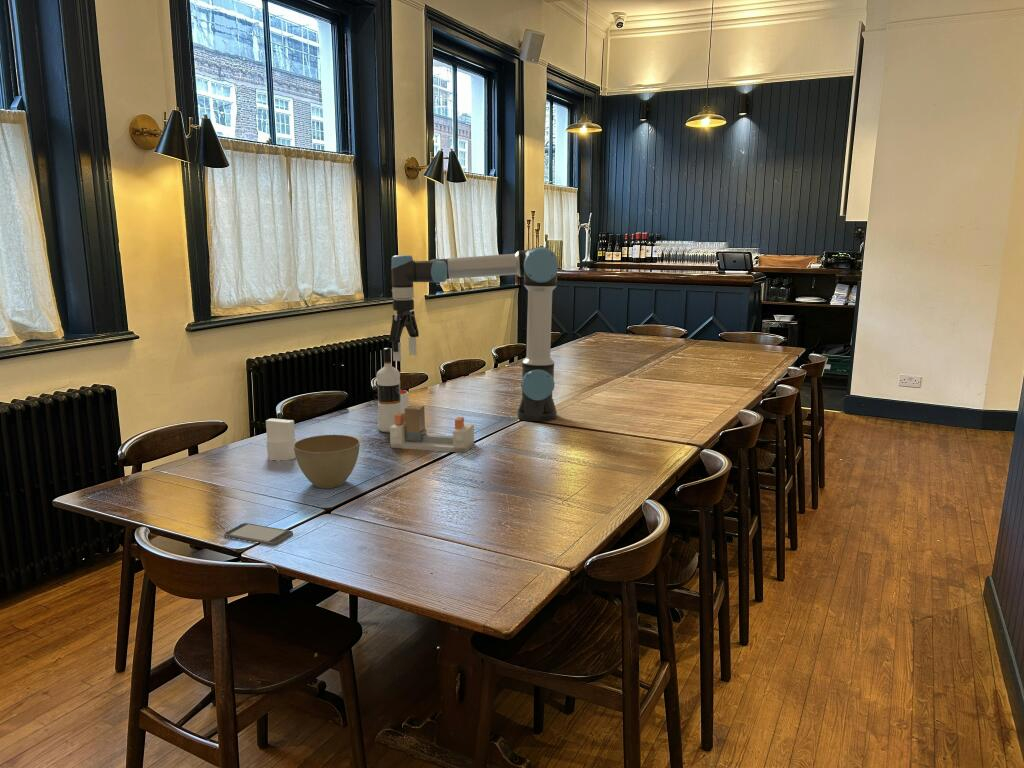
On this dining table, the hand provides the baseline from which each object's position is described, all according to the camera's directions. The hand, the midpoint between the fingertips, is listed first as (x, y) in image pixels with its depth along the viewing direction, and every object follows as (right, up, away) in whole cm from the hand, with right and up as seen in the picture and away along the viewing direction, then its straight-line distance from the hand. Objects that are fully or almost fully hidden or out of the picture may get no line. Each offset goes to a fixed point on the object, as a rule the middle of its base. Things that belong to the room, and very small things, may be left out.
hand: (405, 357), depth 266 cm
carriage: (+6, -28, -19) cm, 35 cm away
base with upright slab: (-35, -33, -31) cm, 57 cm away
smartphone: (-21, -46, -92) cm, 105 cm away
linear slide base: (+12, -30, -20) cm, 38 cm away
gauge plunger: (+1, -23, -19) cm, 30 cm away
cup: (-6, -23, +18) cm, 29 cm away
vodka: (-5, -26, 0) cm, 27 cm away
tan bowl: (-14, -38, -56) cm, 69 cm away
